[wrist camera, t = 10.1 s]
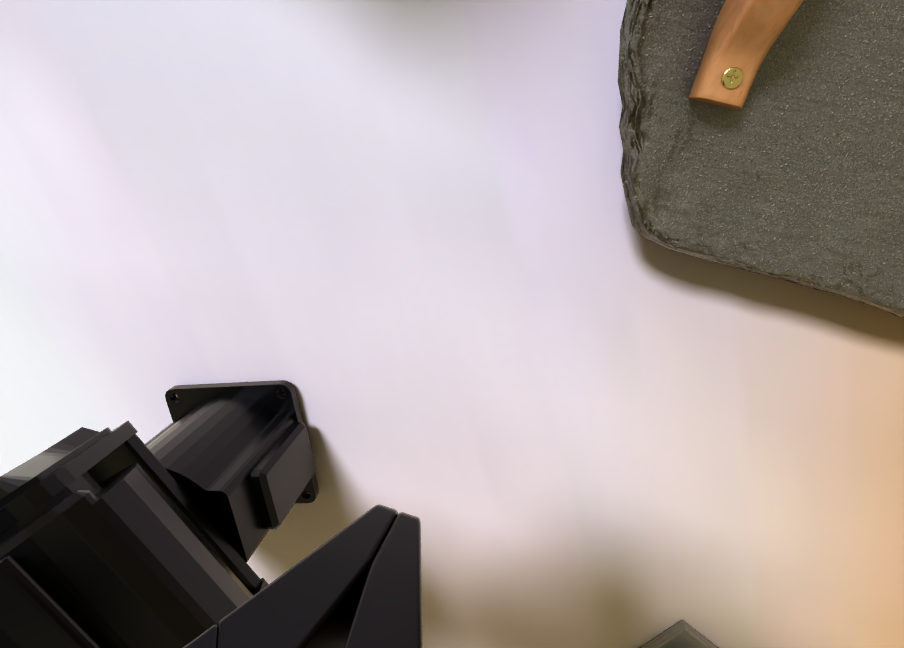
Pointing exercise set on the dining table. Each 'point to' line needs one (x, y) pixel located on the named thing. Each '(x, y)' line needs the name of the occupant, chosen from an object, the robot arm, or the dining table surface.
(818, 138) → the serving board
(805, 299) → the dining table surface
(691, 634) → the grey railed base plate
